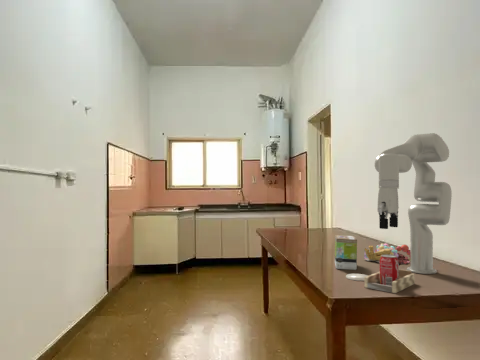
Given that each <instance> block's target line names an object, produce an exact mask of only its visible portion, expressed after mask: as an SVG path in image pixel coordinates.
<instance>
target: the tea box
mask: <svg viewBox="0 0 480 360" xmlns="http://www.w3.org/2000/svg"><path fill="white" fill-rule="evenodd" d="M357 253H358V239H357V238H356V237H355V236H354V235H340V234H339V235H337V234H335V235H334V264H335V269H336V270H338V269H339V270H352V271H353V270H354V271H356V270H357V267H358V266H357V264H358V262H357V260H358V258H357V257H358V254H357Z"/></svg>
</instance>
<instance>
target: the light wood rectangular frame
mask: <svg viewBox="0 0 480 360" xmlns="http://www.w3.org/2000/svg"><path fill="white" fill-rule="evenodd" d="M415 274H416V273H413V272H411V271H408V270H407V269H402V268H401V269H400V268H399V279H397V280H395V281H393V282H392V286H388V285H382V284H380V271H377V272H374V273H372V274H369V275H368V276H366V277H365V281H364V288H365V289H372V290H378V291H382V292H386V293H387V292H388V293H391V294H397V293H398V292H401V291H403V290H405V289H407V288H409V287H411V286H413V285H415V278H416V277H415Z"/></svg>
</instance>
